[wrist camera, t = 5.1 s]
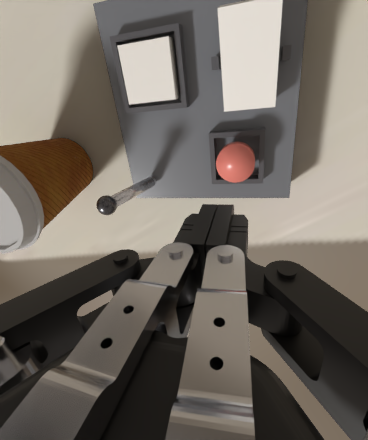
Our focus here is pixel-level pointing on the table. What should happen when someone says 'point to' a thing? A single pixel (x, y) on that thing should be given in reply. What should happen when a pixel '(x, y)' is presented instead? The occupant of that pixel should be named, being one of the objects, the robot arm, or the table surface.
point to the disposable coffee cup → (38, 187)
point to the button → (235, 162)
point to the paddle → (149, 70)
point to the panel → (201, 102)
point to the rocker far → (249, 53)
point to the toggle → (123, 196)
